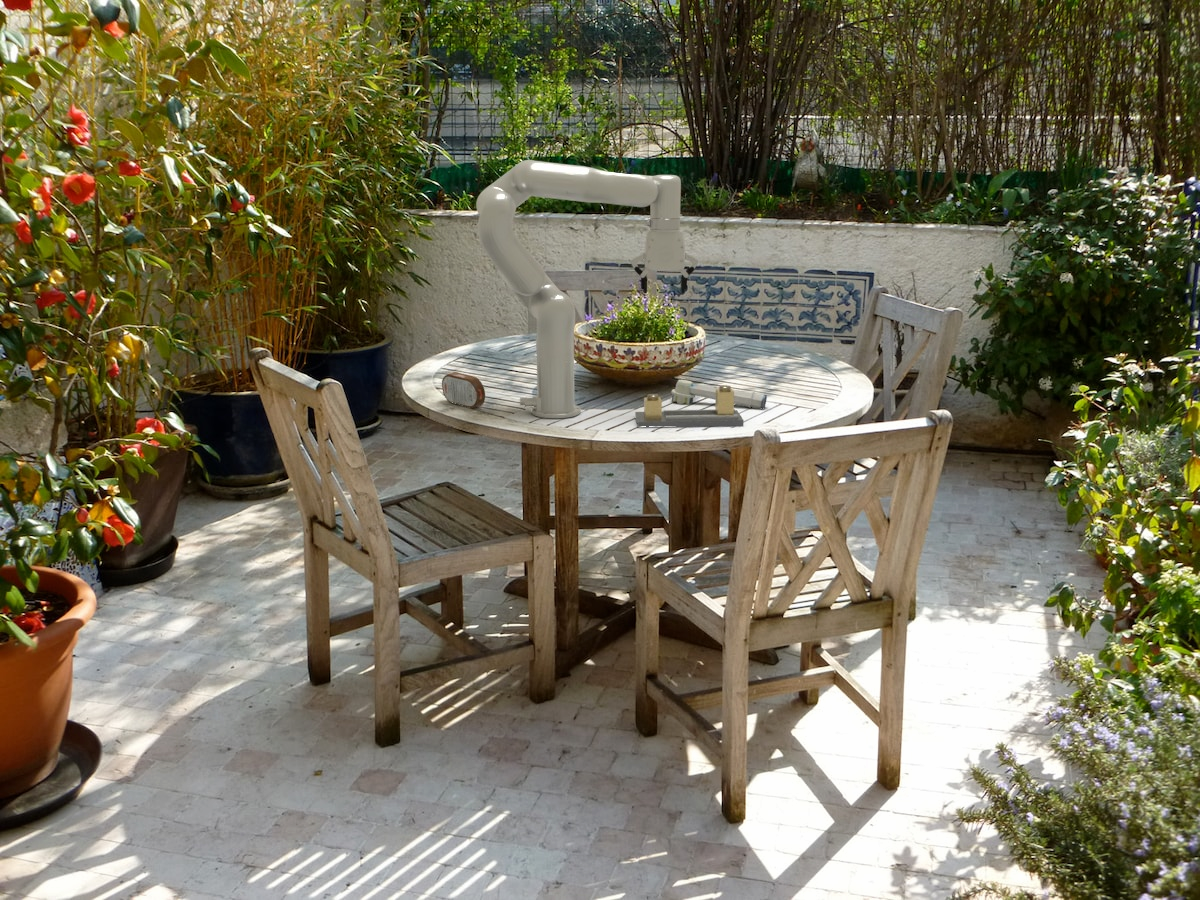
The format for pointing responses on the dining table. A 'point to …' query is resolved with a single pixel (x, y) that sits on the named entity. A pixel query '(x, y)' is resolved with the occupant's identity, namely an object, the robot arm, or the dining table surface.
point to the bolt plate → (691, 419)
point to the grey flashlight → (714, 394)
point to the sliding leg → (724, 400)
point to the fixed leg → (652, 407)
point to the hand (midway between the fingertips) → (663, 292)
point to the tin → (463, 389)
